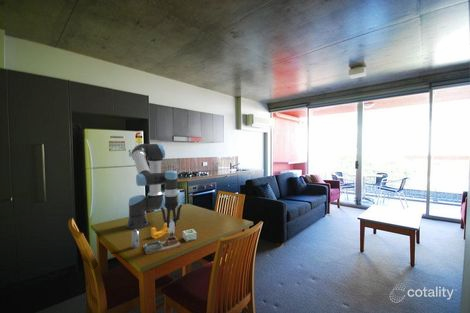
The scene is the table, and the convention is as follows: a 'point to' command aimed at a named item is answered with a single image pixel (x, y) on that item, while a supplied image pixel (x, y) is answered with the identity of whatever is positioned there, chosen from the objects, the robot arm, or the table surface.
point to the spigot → (135, 238)
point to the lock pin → (171, 228)
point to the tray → (189, 235)
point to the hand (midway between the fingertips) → (171, 231)
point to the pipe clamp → (160, 233)
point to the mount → (161, 245)
